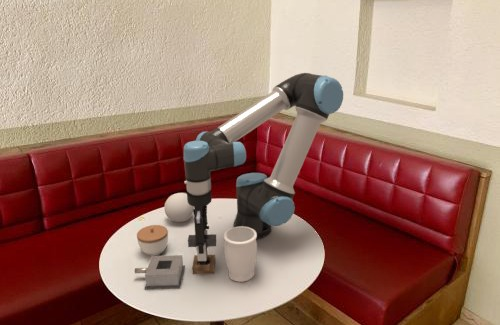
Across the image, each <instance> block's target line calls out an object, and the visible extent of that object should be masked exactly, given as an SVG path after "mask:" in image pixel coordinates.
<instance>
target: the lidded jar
mask: <svg viewBox="0 0 500 325" xmlns="http://www.w3.org/2000/svg"><path fill="white" fill-rule="evenodd" d="M168 232H169V230H168V228H167V227H166V226H164V225H161V224H152V225H148V226H145V227H142V228H141V229H139V230H138V231H137V233H136V239H137V242H138V243H137V244H138V246H139V248H140V250H141V251H142V252H143V253H145V254H146V255H147V256H151V257H152V256H159V255H160V254H162V253H163V251H165V249H166V247H167V245H168V240H169V235H168V234H169V233H168Z"/></svg>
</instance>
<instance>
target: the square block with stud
mask: <svg viewBox="0 0 500 325" xmlns="http://www.w3.org/2000/svg"><path fill="white" fill-rule="evenodd" d="M183 258H184V257H183V255H179V254H177V255H155V256H151V258H150V261H149V264H148V266H147V267H136V268H134V273H135V274H144V277H145V278H144V279H145V285H144V290H170V289H171V290H174V289H175V290H176V289H181V286H182V282H183V279H184V278H183V277H184V274H185V270H186V265H184V261H183V260H184V259H183Z"/></svg>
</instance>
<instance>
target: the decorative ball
mask: <svg viewBox="0 0 500 325" xmlns="http://www.w3.org/2000/svg"><path fill="white" fill-rule="evenodd" d="M163 208H164V213H165V215H166V217H167V218H168V219H169V220H170V221H171V222H174V223H184V222H186V221H188V220H189V219H190V218H191V217H192V216H193V215H194V214H193V209H194V206H191V205H189V204H188V201H187V192H177V193H174V194H171V195H170V196H168V198H167V199H166V201H165V202H164V207H163Z"/></svg>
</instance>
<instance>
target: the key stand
mask: <svg viewBox="0 0 500 325" xmlns="http://www.w3.org/2000/svg"><path fill="white" fill-rule="evenodd" d="M215 265H216V254H208V265H200V261H198V256H197V254H194V256H193V261H192V267H191V270H192V275H208V274H209V275H210V274H213V275H214V274H215Z"/></svg>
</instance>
